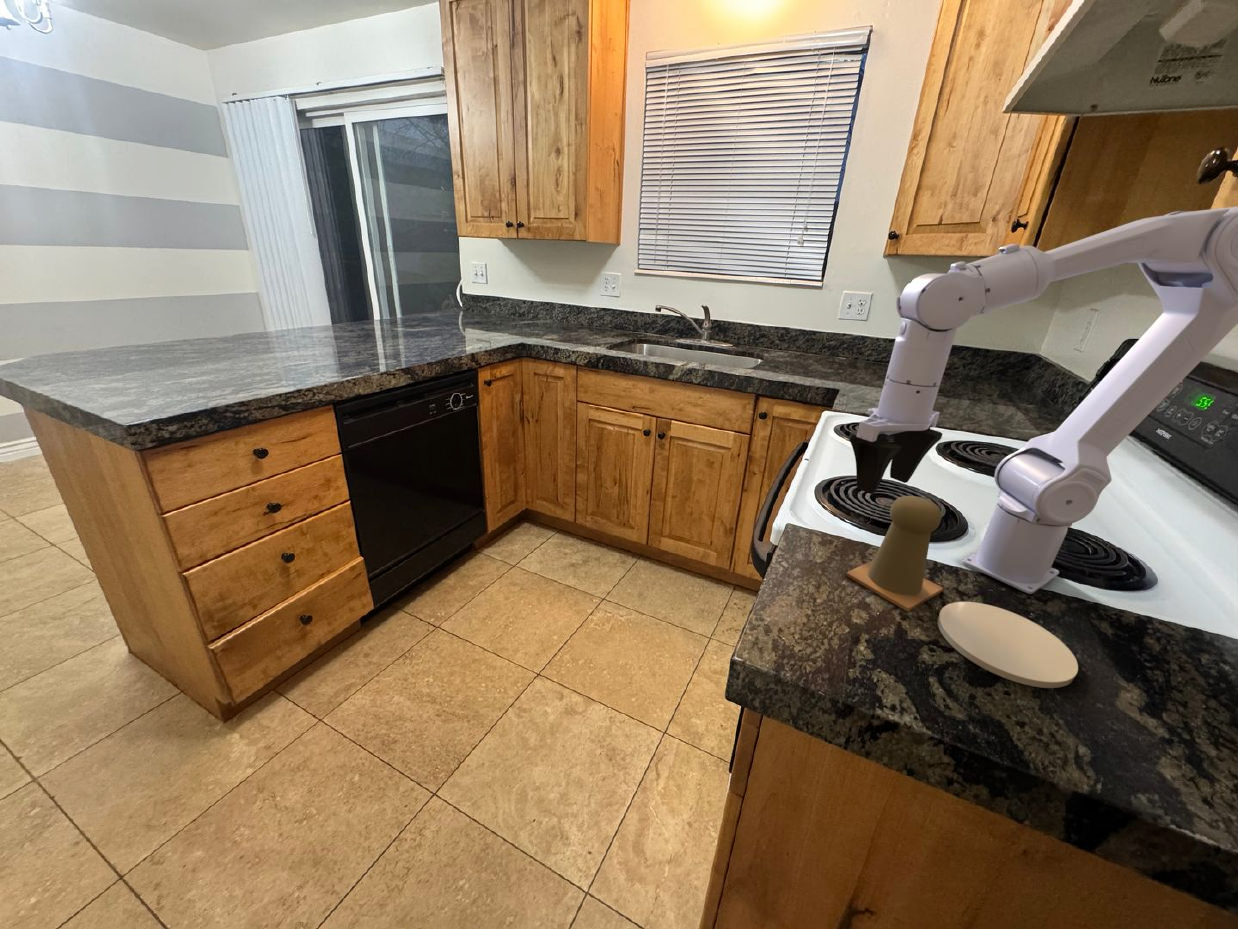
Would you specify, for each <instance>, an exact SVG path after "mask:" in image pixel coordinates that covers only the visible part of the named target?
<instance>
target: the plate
mask: <svg viewBox="0 0 1238 929" xmlns="http://www.w3.org/2000/svg"><path fill="white" fill-rule="evenodd" d="M937 626H938V630H939V631H940V634H941V635H942V636H943V638H944V639H945V640H946V642H947V643H948V644H949V645H950V646H951V647H952V648H953V649H954V650H955V651H957V652H958V653H959V654H960V655H962V656H963V657H965V658H966V659H967V660H969V661H970V662H972V663H973V664H975V665H977V666H979V667H981V668H982V669H984V670H986V671H988V672H990V673H991V674H994V675H995V676H998V677H1001V678H1003V679H1006V680H1009V681H1011V682H1015V683H1018V684H1021V685H1024V686H1028V687H1029V686H1030V687H1033V688H1042V689H1058V688H1063V687H1066V686H1068V685H1070V684H1072V683H1073V682H1074V680H1075V679H1076V677H1077V675H1078V673H1079V664H1078V660H1077V658H1076V656H1075V655H1074V653H1073V652H1072V651H1071V649H1070V648H1069V647H1068V646H1067V645H1066V644H1065V643H1064V642H1063V641H1062V640H1060V639H1059V638H1058V637H1057V636H1056V635H1054V634H1052V632H1050V631H1048V630H1047V629H1045V628H1044V627H1042V626H1041V625H1039V624H1037V623H1036V622H1034V621H1032V620H1030V619H1028V618H1026V617H1024V616H1022V615H1020V614H1017V613H1014V612H1012V611H1010V610H1008V609H1005V608H1001V607H998V606H994V605H990V604H986V603H982V602H975V601H955V602H951V603H948V604H946V605H944V606H943V607H942V608H941V609H940V610H939V614H938V616H937Z"/></svg>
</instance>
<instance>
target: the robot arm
mask: <svg viewBox="0 0 1238 929" xmlns="http://www.w3.org/2000/svg"><path fill="white" fill-rule="evenodd" d="M1122 264H1137V265H1138V267H1139V269H1140V271H1141V273H1143V275H1144V277H1145V278H1146V280H1147V281H1148V283H1149V284H1150V286H1151V287H1152V289H1153V291H1154V292H1155V294H1156V295H1157V297H1158V298H1159V300H1160V301H1161V305H1162V313H1161V315H1160V316H1159V317H1158V318H1157V319H1156V320H1155V321H1154V322H1153V324H1152V325H1151V326H1150V327H1149V328H1148V329H1147V330H1146V331H1145V332H1144V333H1143V335H1142V336H1141V337H1140V338H1139V339H1138V340H1137V341H1136V342H1135V343H1134V344H1133V346H1131V348H1130V349H1129V350H1128V351H1127V352H1126V353H1125V354H1124V356H1122V358H1120V360H1119V361H1118V362H1117V363H1116V364H1115V365H1114V366H1113V368H1111V370H1110V371H1108V373H1107V374H1106V375H1105V376H1104V377H1103V378H1102V380H1101V381H1100V382H1098V384H1097V385H1096V386H1095V387H1094V388H1093V389H1092V390H1091V392H1089V393H1088V395H1087V396H1086V397H1085V398H1084V399H1083V400H1082V401H1081V402H1080V403H1079V405H1078V406H1077V407H1076V408H1075V409H1074V410H1073V411H1072V412H1071V414H1069V416H1068V417H1067V418H1065V420H1064V421H1063V422H1062V423H1061V424H1060V426H1058V428H1056V430H1054V431H1052V432H1048V433H1046V434H1042V435H1038V436H1035V437H1032V438H1030V439H1029V440H1028V441H1027V442H1026V443H1025V444H1024V445H1023V446H1022V447H1021V448H1020V449H1018V450H1017V451H1014V452H1013V453H1009V454H1008V455H1007V456H1005V457H1004V458H1003V459H1002V460H1000V462H999V463H998V465H997V466H996V467H995V470H994V475H993V476H994V482H995V485H996V486H997V488H998V489H999V491H998V493H997V498H998V499H997V502H996V505H995V508H994V510H993V513H992V515H991V518H990V520H989V524H988V526H987V528H986V531H985V534H984V536H983V538H982V541H981V544H980V545H979V549H978V551H976V552H974V553H973V554H971V555H969V556H967V557H965V558H964V559H962V564H964V565H966V566H967V567H969V568H972V569H973V570H976V571H978V572H980V573H981V574H982V573H983V574H984V575H987V576H988V577H991V578H993V579H995V580H998V581H1000V582H1002V583H1004V584H1006V585H1008V586H1010V587H1012V588H1014V589H1017V590H1019V591H1021V592H1023V593H1025V594H1027V595H1032V594H1034V593H1036V592H1037V591H1038V590H1039V589H1041V588H1042V587H1044V586H1045V585H1046V584H1048V583H1049V582H1050V581H1052V580H1053V579H1054V578H1056V577H1058V575H1060V570H1058V569H1056V568H1053V564H1054V561H1055V559H1056V557H1057V555H1058V554H1059V551H1060V549H1061V547H1062V544H1063V542H1064V540H1065V538H1066V535H1067V533H1068V529H1069V528H1071V527H1072V526H1073V524H1074V523H1077V522H1078V521H1081V520H1083V519H1085V518H1086V517H1087V516H1089V514H1091V513H1092V512H1093V510H1094V509H1095V507H1096V506H1097V503H1098V501H1099V498H1100V496H1101V494H1102V492H1103V491H1104V490H1105V489H1106V487H1107V486H1108V485H1109V484H1111V482H1112V479H1113V478H1112V474H1111V471H1110V467H1109V464H1108V456H1109V455H1110V454H1112V452H1113V451H1114V450H1115V449H1116V448H1117V447H1118V446H1119V445H1120V444H1121V443H1122V442H1123V441H1124V440H1125V439H1126V438H1127V437H1128V436H1129V435H1130V434H1131V433H1132V432H1133V431H1134V430H1135V429H1136V428H1137V427H1138V425H1139V424H1141V423H1142V422H1143V420H1145V419H1146V418H1147V416H1148V415H1150V413H1151V412H1152V411H1153V410H1155V408H1156V407H1158V406H1159V404H1160V403H1162V401H1163V400H1164V399H1165V398H1166V397H1167V396H1169V394H1170V393H1171V392H1172V391H1173V390H1174V389H1175V388H1176V387H1177V386H1178V385H1179V384H1180V383H1181V382H1182V381H1183V380H1184V379H1185V378H1186V377H1187V376H1188V375H1189V374H1190V373H1191V372H1192V371H1193V370H1194V369H1195V368H1196V367H1197V366H1198V365H1199V364H1200V363H1201V362H1202V361H1203V359H1205V358H1206V357H1207V356H1208V355H1209V354H1210V352H1212V351H1213V349H1214V348H1215V347H1216V346H1217V345H1218V344H1219V343H1220V342H1221V341H1222V340H1223V339H1224V338H1225V337H1227V335H1228V334H1229V333H1230V332H1231V331H1232V330H1233V329H1234V328H1235V327H1236V326H1237V325H1238V206H1229V207H1221V208H1220V207H1219V208H1211V209H1203V210H1202V209H1201V210H1194V211H1193V210H1177V211H1173V212H1169V213H1166V214H1164V215H1157V216H1152V217H1145V218H1141V219H1137V220H1134V221H1132V222H1131V221H1130V222H1128V223H1125V224H1121V225H1119V226H1117V227H1113V228H1111V229H1108V230H1105V231H1102V232H1100V233H1099V232H1098V233H1096V234H1094V235H1093V234H1092V235H1090V236H1088V237H1084V238H1081V239H1079V240H1076V241H1072V242H1070V243H1067V244H1064V245H1061V246H1058V247H1056V248H1053V249H1050V250H1046V251H1043V250H1040V249H1039V248H1037V247H1035V246H1033V245H1022V246H1020V243H1010V244H1006V245H1003V246H1001V247H999V248H998V254H994V255H992V256H987V257H985V258H981V259H978V260H975V261H971V262H969V263H967V262H966V261H957V262H954V263H951V264H950V267H949V268H950V269H949V270H948V272H947V273H933V272H932V273H925V274H922V275H918V276H917V277H915V278H913V279H912V280H911V282H910V283H908V284H907V285H906V286H905V287H904V289H903V291H902V292H901V295H900V296H897V297H896V302H895V307H896V311H897V314H898V316H899V318H900V323H899V328H898V330H897V334H896V338H895V340H894V343H893V344H894V345H893V348H892V353H891V356H890V360H889V363H888V366H887V371H886V375H885V379H884V383H883V386H882V390H881V394H880V397H879V402H878V405H877V407H872V408H868V410H867V415H868V416H869V417H867V418H866V419H864V420H861V421H859V425H858V428H857V430H854V431H851V432H850V434H849V438H848V439H849V442H850V444H851V447H852V450H853V455H854V458H855V470H856V472H855V473H856V474H855V475H856V477H855V478H856V489H857V490H860V491H863V492H864V493H867V494H869V495H873V494H875V493H876V492H877V490H878V489H879V487H880V485H881V482H882V480H883V477H884V475H885V473H886V470H887V468H888V466H890V469H889V477H890V478H891V479H893V480H896V481H899V482H900V483H904V484H906V483H908V482H909V481H910V479H911V478H912V476H913V475H914V474H915V471H916V470H917V468H918V467H919V465H920V464H921V462H922V460H923V459H924V457H925V456H926V455H927V454H928V452H930V450H931V449H932V448H933V447H934V446H935V445H936V444H937V443H938V442H939V441H940V440H942V438H943V433H942V432H941V431H939V430H935V429H933V428H936V427H937V424H938V421H939V417H940V414H941V413H940V412H939V411H936V410H935V411H934V410H933V409H934V405H935V403H936V400H937V396H938V392H939V390H940V385H941V382H942V379H943V376H944V372H945V369H946V366H947V363H948V360H949V357H950V354H951V350H952V348H953V344H954V340H955V337H956V333H957V330H958V328H960V327H962V326H964V324H966V323H967V322H968V321H969V320H970V319H971V318H973V317H977V316H981V315H983V314H987V313H990V312H994V311H997V310H1001V309H1005V308H1007V307H1012V306H1015V305H1018V304H1021V303H1025V302H1028V301H1032V300H1035V299H1037V298H1039V297H1040V296H1041V295H1042V294H1043V293H1044V292H1045V290H1046V289H1047V288H1048V286H1049V284H1051V283H1052V282H1057V281H1061V280H1065V279H1069V278H1072V277H1076V276H1079V275H1085V274H1087V273H1091V272H1096V271H1099V270H1104V269H1107V268H1110V267H1116V266H1118V265H1119V266H1120V265H1122ZM890 435H892V438H893V439H892V440H893V443H892V442H890V439H888V436H890ZM1060 464H1064V466H1062V465H1060Z"/></svg>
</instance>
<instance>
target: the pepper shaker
mask: <svg viewBox="0 0 1238 929" xmlns="http://www.w3.org/2000/svg"><path fill="white" fill-rule="evenodd" d="M942 516H943V515H942V511H941V509H940V507H939V506H938V505H937V504H936V503H935V502H933V501H931V500H929V499H926V498H925V497H920V496H917V495H916V496H915V495H903V496H899V497H898V498H896V499H895V500H894V501H893V502H892V504H891V506H890V510H889V517H890V518H891V524H890V525H889V527H888V529H887V532H886V534H885V535H884V538H883V539H882V542H881V543H880V545H879V548H878V550H877V552H876V554H875V555H874V558H873V560H872V561H873V562H872V564H871V567H870V569H869V571H868V576H869V577H870V579H871V580H872V581H873V582H874V583H875V584H877V585H878V586H880V587H882V588H883V589H885V590H888V591H890V592H893V593H897V594H901V595H915V594H918V593H919V592H921V589H922V584H923V578H925V571H926V566H927V559H928V553H929V547H930V541H931V535H932V532H934V531H936V530H937V529H938V527H939V526H940V524H941V521H942V518H943V517H942Z"/></svg>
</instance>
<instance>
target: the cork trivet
mask: <svg viewBox="0 0 1238 929" xmlns="http://www.w3.org/2000/svg"><path fill="white" fill-rule="evenodd" d="M872 562H873V560H871V561H869V562H866V563H864V564H862V565H860V566H857V567H855V568H853V569H851V570H849V571H847V572H846V573H845V577H847V578H849V579H850V580H852V581H854V582H855V583H857V584H859V585H861V586H863V587H864V588H866V589H868V590H870V591H871V592H873V593H874V594H877V595H878V596H880V597H881V598H883V599H884V600H886V601H888V602H889V603H891V604H893V605H895V606H897V607H898V608H900V609H901V610H904V611H905V612H910V611H911V610H913V609H915V608H916V607H918V606H920V605H922V604H924V603H925V602H927V601H929V600H930V599H933V597H935V596H937V595H939V594H940V593H942V592H943V591H944V587H942V586H940V585H938V584H936V583H934V582H932V581H930V580H929V579H927V578H925V577H924V578H923V584H922V589H921V592H919V593H918V594H915V595H901V594H897V593H893V592H890V591H888V590H885V589H883V588H882V587H880V586H878V585H877V584H875V583H874V582H873V581H872V580H871V579H870V577H869V576H868V571H869V569H870V567H871V564H872Z"/></svg>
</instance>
